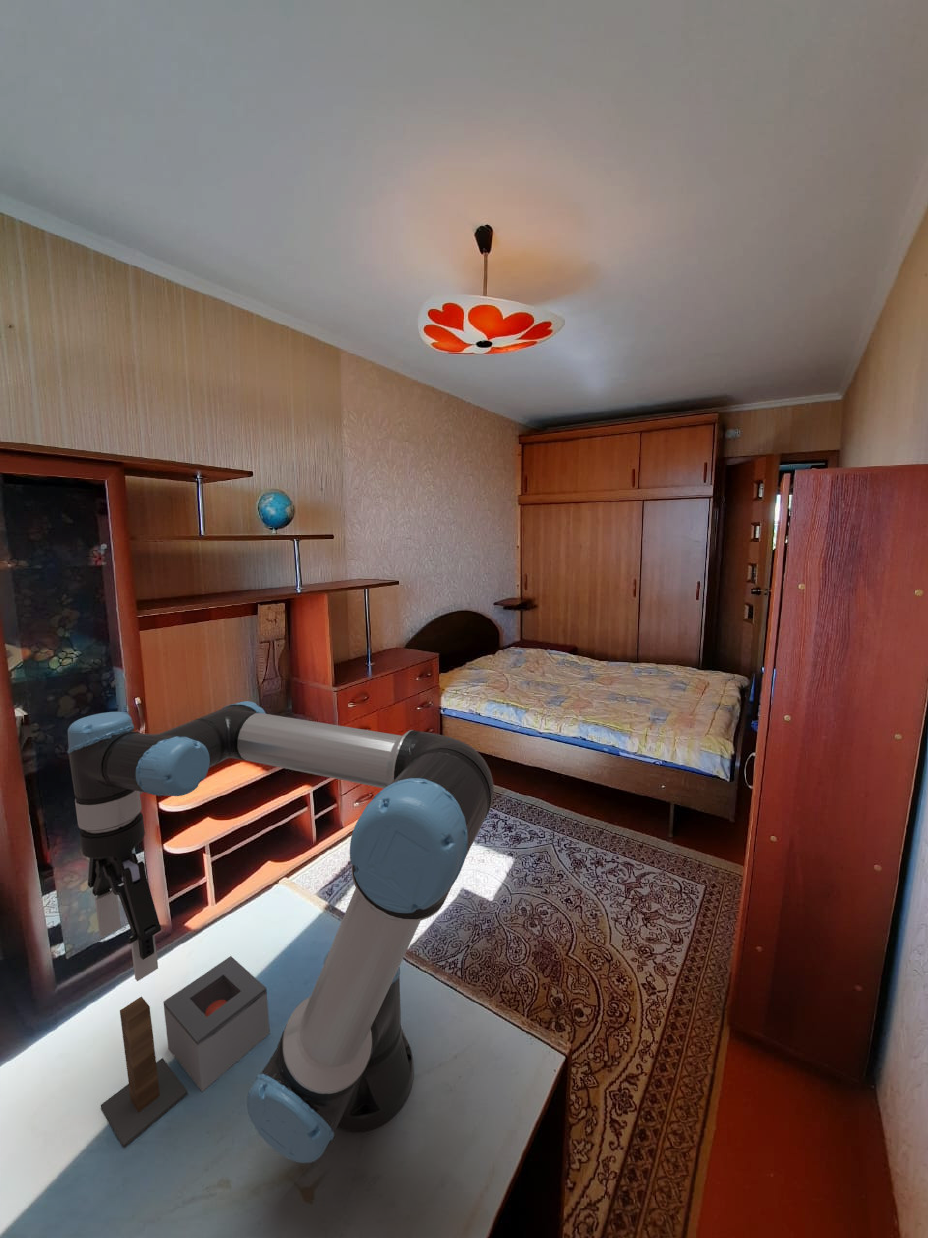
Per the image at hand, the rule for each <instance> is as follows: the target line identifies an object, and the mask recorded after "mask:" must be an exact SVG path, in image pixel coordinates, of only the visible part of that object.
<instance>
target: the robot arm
mask: <svg viewBox="0 0 928 1238" xmlns="http://www.w3.org/2000/svg"><path fill="white" fill-rule="evenodd" d="M67 741H68V744H67V745H68V750H67V754H68V759H69V766H70V772H71V781H72V784H73V793H74V797H75V799H74V803H75V812H76V818H77V821H76V822H77V826H78V828H79V829H80V830H79V837H80V838H79V839H80V840H79V841H80V846H81V852H82V854H83V856H84V857H86V858H88V859H89V864H88V877H87V886H88V887H89V888H90V889H91V888H92V895H93V896H94V897H95V898H94V904H95V910H96V911H95V912H96V918H97V925H98V926H97V927H98V932H99V933H98V934H99V937H100V938H101V939H104V937H106V936H108V935H110V934H112V933H114V932H116V931H117V930H119V929H121V928H122V923H121V917H120V906H119V900H120V902H121V905H122V908H123V911H124V914H125V918H126V920H127V922H128V925H129V929H130V931H131V934H132V935H131V936H130V937H129V939H128V940H127V943H128V945H130V946H131V954H132V955H131V957H132V963H133V971H134V972H133V973H134V979H135V980H136V982H139V981H141V980H142V979H144V978H145V977H147V976H149V975H150V974H152V973H153V972H156V971H157V970H158V969H159V963H158V955H157V953H158V952H157V946H156V937H155V935H157V934H158V933H160V932H161V931H162V926H161V924H160V921H159V917H158V914H157V913H158V912H157V909H156V906H155V902H154V899H153V896H152V892H151V889H150V885H149V881H148V879H147V872H146V864H145V862H144V861H142V860H140V862H139V860H138V857H137V855H136V853H135V852H134V853H133V850H134V849H135V848H136V846H138V845H139V844H140V843H141V842H142V841H143V839H144V838H145V833H146V832H145V823H144V822H145V821H144V815H143V813H142V812H141V811H142V809H143V808H142V799H141V794H142V793H146V794H149V795H153V796H158V797H162V796H167V797H169V796H170V797H182V796H185V795H189V794H190V793H192V792H194V791H195V790H196V789H197V788H198V787H199V784H200V783H201V782H202V781H204V780H205V779H206V777H207V775H208V771H209V769H211V767H213V766H216V765H217V764H219V763H221V762H223V761H225V760H228V759H235V760H242V761H246V762H251V763H257V764H262V765H266V766H271V767H276V768H282V769H287V770H291V771H296V772H301V773H306V774H310V775H311V774H312V775H316V776H321V777H325V778H330V779H331V778H332V779H336V780H340V781H346V782H349V783H355V784H361V785H366V786H369V787H374V788H378V789H379V788H380V789H381V790H380V791H379V792H378V793H377V794H375V796H374V797H373V798H372V799H371V801H370V802H369V803H367V804H366V807H365V808H364V809H363V811H362V813H361V814H360V816H359V817H358V819H357V821H356V823H355V825H354V827H353V831H352V834H351V837H350V843H349V860H350V864H351V878H352V882H353V885H354V887H355V888H354V891H353V893H352V895H351V897H350V901H349V903H348V905H347V908H346V910H345V913H344V915H343V917H342V920H341V922H340V924H339V928H338V929H337V931H336V934H335V937H334V939H333V942H332V944H331V946H330V948H329V950H328V952H327V953H326V955H325V956H324V959H323V966H322V968H321V970H320V973H319V974H318V978H317V981H316V983H315V985H314V987H313V990H312V992H311V994H310V996H309V997H307V998H305V999H304V1000H303V1001H302V1002H300V1003H298V1005H297V1006H295V1007H296V1008H294V1010H293V1011H292V1013H291V1015H289V1016H290V1017H289V1018H288V1020H287V1022H286V1024H285V1027H284V1030H283V1032H282V1035H281V1036H280V1039H279V1041H278V1044H277V1047H276V1049H275V1050H274V1052H273V1053H272V1055H271V1057H270V1059H269V1061H268V1062H267V1064H266V1065H265V1067H264V1068H263V1070H262V1071H261V1072H260V1073H258V1074H257V1075H256V1077H255V1081H254V1083H253V1085H252V1086H251V1088H250V1089H249V1092H248V1093H247V1099H246V1108H247V1113H248V1116H249V1119H250V1122H251V1124H252V1125H253V1126H254V1129H255V1130H256V1131H257V1133H258V1134H259V1136H260V1137H261V1138H262V1139H263V1141H265V1142H266V1144H267V1145H269V1147H270V1148H271V1149H273V1150H274V1151H275V1152H277V1154H280V1155H281V1156H282V1157H284V1158H285V1159H288V1160H290V1161H293V1162H297V1163H300V1164H308V1163H309V1164H310V1163H313V1162H316V1161H317V1160H319V1159H320V1158H321V1157H322V1156H323V1154H324V1153H325V1151H326V1149H327V1147H328V1145H329V1143H330V1142H331V1141H333V1139H334V1137H335V1132H336V1130H337V1128H339V1129H341V1130H345V1131H348V1132H354V1133H355V1132H356V1133H357V1132H358V1133H359V1132H366V1131H370V1130H374V1129H375V1128H378V1127H381V1126H382V1125H383V1124H386V1123H387V1122H388V1121H389V1120H391V1119H392V1118H393V1117H394V1116H396V1114H398V1112H400V1110H401V1109H402V1107H403V1106H404V1104H405V1103H406V1100H407V1099H408V1097H409V1094H410V1092H411V1089H412V1086H413V1083H414V1082H413V1080H414V1059H413V1057H414V1056H413V1053H412V1048H411V1046H410V1043H409V1041H408V1039H407V1036H406V1034H405V1032H404V1030H403V1027H402V1024H401V1023H402V1022H401V1021H402V1018H401V1017H402V1015H401V1014H402V1013H401V1011H402V1010H401V986H400V982H401V981H400V978H401V977H400V975H401V967H400V966H401V964H402V962H403V960H404V958H405V955H406V953H407V951H408V948H410V945H411V942H412V941H413V938H414V936H415V933H416V932H417V930H418V927H419V925H420V923H421V922H422V921H424V920H427V919H429V918H431V917H433V916H434V915H435V914H437V913H438V912H439V911H440V910H441V909H442V908H443V905H444V903H445V902H446V899H447V897H448V895H449V893H450V891H451V890H452V889H451V888H452V887H453V885H454V884H455V882H456V881H457V879H458V877H459V875H460V874H461V871H462V869H463V866H464V864H465V861H466V858H467V856H468V854H469V852H470V850H471V847H472V845H473V844H474V842H475V840H476V837H477V835H478V833H479V832H480V830H481V828H482V826H483V823H484V822H485V820H486V818H487V816H488V814H489V813H490V811H491V808H492V804H493V801H494V780H493V776H492V775H493V774H492V773H491V772H492V771H491V769H490V768H489V766H488V763H487V762H486V760H485V759H484V757H483V756H482V755H481V754H480V753H479V752H478V751H477V750H476V749H475V748H473V747H472V746H471V745H469V744H467V743H466V742H464V741H461V740H459V739H456V738H454V737H451V736H447V735H442V734H438V733H434V732H427V731H420V730H414V729H409V730H408V731H407V732H405V733H404V734H403V735H399V734H394V733H388V732H387V733H386V732H382V731H381V732H380V731H375V730H370V729H369V730H368V729H361V728H356V727H350V726H344V725H338V724H332V723H331V724H330V723H325V722H321V721H320V722H318V721H313V720H307V719H300V718H293V717H287V716H281V715H277V714H275V715H274V714H270V713H266V711H265V710H264V708H262V707H261V706H259V705H257V703H255V702H253V701H249V700H248V701H247V700H246V701H240V702H237V703H231V704H229V705H225V706H224V707H222V708H220V709H218V710H216V711H212V712H211V713H208V714H205V715H203V716H201V717H199V718H196V719H193V720H191V721H188V722H186V723H183V724H180V725H177V726H176V727H173V728H171V729H170V728H169V729H168V730H166V731H163V732H161V733H160V732H159V733H155V734H154V733H153V734H151V733H144V732H138V731H135V726H134V723H133V719H132V717H131V715H129V714H128V713H127V712H124V711H109V712H108V711H107V712H100V713H95V714H91V715H87V716H85V717H82V718H79V719H77V720H74V722H72V723H71V724H70V725H69V727H68V729H67ZM118 897H119V899H118Z"/></svg>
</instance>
